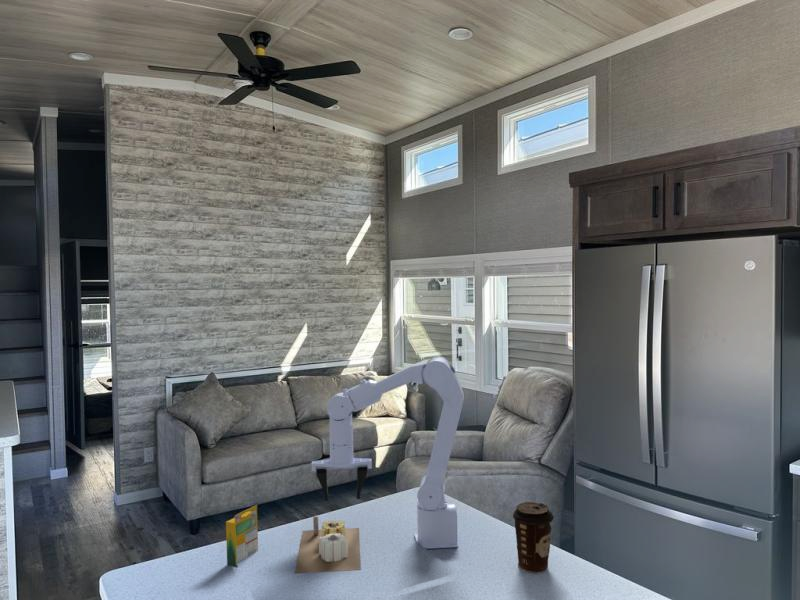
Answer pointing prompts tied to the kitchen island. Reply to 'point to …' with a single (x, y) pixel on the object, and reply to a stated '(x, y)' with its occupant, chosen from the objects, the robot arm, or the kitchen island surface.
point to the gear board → (312, 559)
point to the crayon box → (242, 536)
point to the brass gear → (333, 528)
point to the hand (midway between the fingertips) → (342, 498)
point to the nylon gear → (333, 547)
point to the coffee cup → (533, 536)
